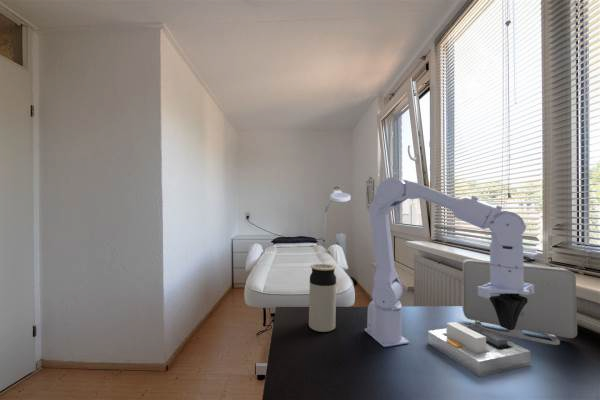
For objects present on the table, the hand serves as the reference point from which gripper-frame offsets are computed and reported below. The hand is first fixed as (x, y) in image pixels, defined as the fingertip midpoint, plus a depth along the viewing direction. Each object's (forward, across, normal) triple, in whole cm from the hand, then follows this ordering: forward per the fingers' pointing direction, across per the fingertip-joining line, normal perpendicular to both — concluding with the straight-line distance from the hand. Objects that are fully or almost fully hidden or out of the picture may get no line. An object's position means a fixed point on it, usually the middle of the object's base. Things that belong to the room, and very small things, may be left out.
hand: (507, 328), depth 55 cm
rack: (+10, +1, +8) cm, 13 cm away
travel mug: (+10, -31, +31) cm, 45 cm away
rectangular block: (+9, -3, +8) cm, 12 cm away
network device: (+10, +24, +14) cm, 30 cm away
